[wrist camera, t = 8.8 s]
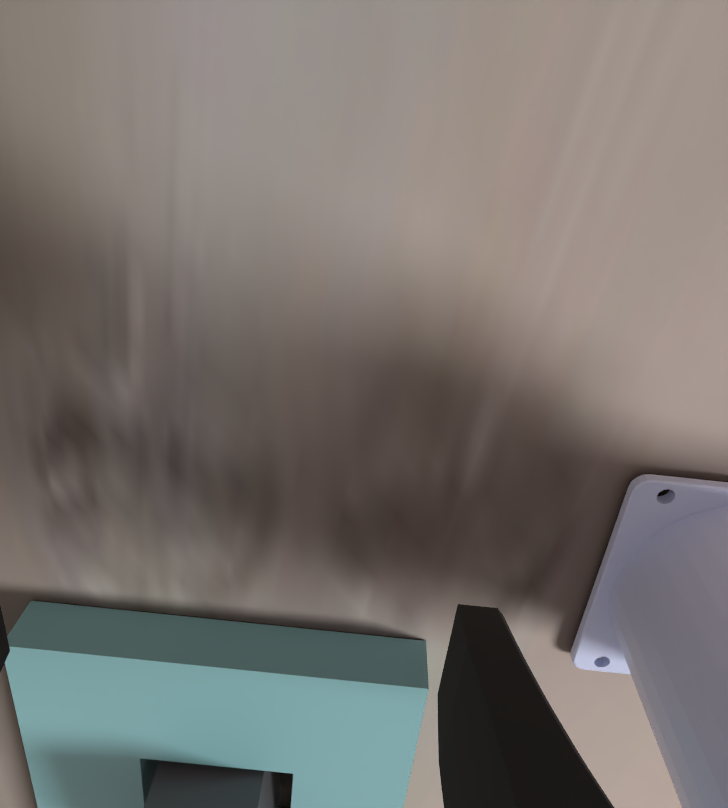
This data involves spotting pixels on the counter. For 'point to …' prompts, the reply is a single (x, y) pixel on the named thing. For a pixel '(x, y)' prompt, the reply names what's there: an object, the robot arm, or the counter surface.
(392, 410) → the counter surface
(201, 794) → the plug
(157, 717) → the socket plate
